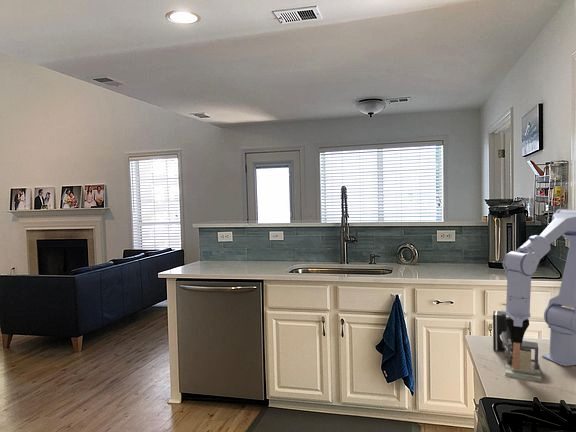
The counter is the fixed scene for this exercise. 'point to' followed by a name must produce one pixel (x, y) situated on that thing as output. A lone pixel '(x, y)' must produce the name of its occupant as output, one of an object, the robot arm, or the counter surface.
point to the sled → (521, 359)
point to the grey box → (529, 346)
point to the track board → (509, 372)
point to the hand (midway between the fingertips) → (516, 345)
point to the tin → (506, 337)
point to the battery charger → (498, 330)
